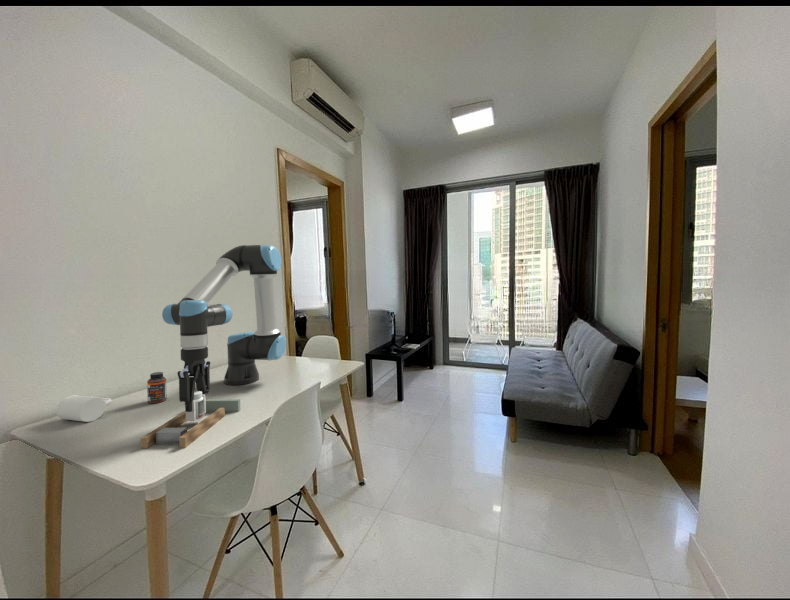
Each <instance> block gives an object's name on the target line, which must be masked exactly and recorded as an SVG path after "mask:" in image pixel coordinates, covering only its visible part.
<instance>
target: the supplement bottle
mask: <svg viewBox="0 0 790 600" xmlns="http://www.w3.org/2000/svg"><path fill="white" fill-rule="evenodd" d="M146 387H147V388H146V390H147V392H146V393H147V403H148V404H151V405H152V404H159V403H162V402H165V401H167V398H168V397H167V378H166V377H165V376H164V372H163V371H155V372H152V373H150V375H149V379H148V380H147V383H146Z"/></svg>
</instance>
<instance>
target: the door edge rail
mask: <svg viewBox="0 0 790 600" xmlns="http://www.w3.org/2000/svg"><path fill="white" fill-rule="evenodd" d="M219 408H225V413H226V412H227V413H229V412H234V413H236V412H238V413H239V412H240V411H241V399H240V398H238V399H237V398H233V399H232V398H231V399H229V398H227V399H226V398H225V399H224V398H223V399H220V398H219V399H207V398H206V413H209V412H210V413H214V412H215V411H216V410H218V409H219Z"/></svg>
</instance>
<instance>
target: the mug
mask: <svg viewBox="0 0 790 600" xmlns="http://www.w3.org/2000/svg"><path fill="white" fill-rule="evenodd" d="M112 402H113V399H111V398H109V397H104V398H102V397H100V396H99V397H98V396H91V395H79V394H73V395H68V396H67V397H65V398H63V399H62V400H61V401H59V403H58V404H57V406H56V409H55V413H56V415H57V417H58V418H60V419H61V420H66V421H67V420H69V421H76V422H84V423H89V422H94V421H96V420H97V419H99V418H101V416H102V415H103V414H104V413H105V411H106V407H107V405H110V404H112Z"/></svg>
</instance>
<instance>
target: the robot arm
mask: <svg viewBox="0 0 790 600" xmlns="http://www.w3.org/2000/svg"><path fill="white" fill-rule="evenodd" d="M282 262H283V261H282V256H281V253H280V251H279V250H278V248H277V247H275V245H271V244H249V245H248V244H247V245H246V244H245V245H243V244H242V245H238V246H234V247H233V248H231V249H230V250H228V251H226V252H225V253H223V254H222V255H221V256H220V257H219V258H218V259H217V260H216V262H215V265H214V267H212V269H211V270H210V271H209V272H207V274H206V275H204V276H203V278H201V279H200V281H199V282H197V284H196V285H194V286H193V287H192V289H191V290H190V291H188V293H187V294H186V295H185V296H184V297H182V299H180V301H178V303H172V304H167V305H166V306H165V307H164V308H163V309H162V311H161V316H162V319H163V322H164V323H166V324H168V325H174V326H179V328H180V329H179V330H180V331H179V332H180V333H179V336H180V339H179V341H180V348H181V349H180V360H181V361H182V362H184V364H183V369H182V370H179V371H177V373H176V374H177V377H178V390H179V391H178V392H179V395H178V396H179V397H178V400H179V402H180V403H181V402H182V403H184V407H185V409H184V411H186V421H187V422H195V421H197V420H196V404H195V400H193V399H194V391H202V397H203V398H204V415H205V414H206V413H207V412H206V399H207V398H206V396H207V395H206V394H209V393H210V388H211V379H210V378H211V377H210V375H211V374H210V367H211V361H209V360H208V361H206V359H207V358H208V357H209V348H208V345H209V342H208V341H209V339H208V334H209V333H208V328H210V327H214V326H215V327H216V326H223V325H225V324H227V323H229V322H230V321H231V320H232V318H233V310H232V308H231V307H230V305H227V304H224V303H223V304H222V303H217V304H209V302H210V301H211V300H212V299H213V298H214V297H215V296H216V295H217V294H218V293H219V291H221V289H222V288H223V287H224V286H225V285H226V283H228V281H229V280H230V279H231V278H232V277H234V276H237V275H238V273H240V272H245V271H247V272H248V271H249V276H251V277H252V278H253V287H254V300H255V301H254V302H255V313H256V314H255V316H256V317H255V318H256V330H255V331H247V332H246V331H244V332H238V333H234V334H231V335H228V337H227V343H226V344H227V346H226V347H227V368H226V372H225V375H224V377H223V382H224V384H225V385H227V384H228V386H240V385H247V384H251V383H254V382H256V381H259V380H260V372H259V370H258V368H257V365H256V360H258V361H259V360H261V361H262V360H263V361H277V360H279V359H281V358H282V357H283V355H284V353H285V351H286V348H287V339H286V337H285V336H284V335H282V334H281V330H280V329H279V328H278V325H277V322H278V321H277V312H276V311H277V307H276V294H275V293H276V291H275V278H276V276H277V275H278V271H279V270H281V268H282V265H283V264H282ZM195 389H196V390H195Z"/></svg>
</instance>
